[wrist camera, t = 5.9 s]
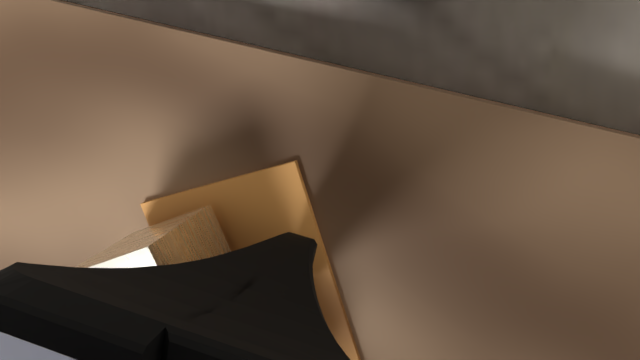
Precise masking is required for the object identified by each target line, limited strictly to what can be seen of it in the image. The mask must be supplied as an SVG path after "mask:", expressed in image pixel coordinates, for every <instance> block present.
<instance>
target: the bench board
mask: <svg viewBox="0 0 640 360" xmlns="http://www.w3.org/2000/svg"><path fill="white" fill-rule="evenodd" d="M207 205H211V207H212V210H213V212H214V214H215V216H216V218H217V221H218V223H219V225H220V227H221V229H222V232H223V234H224V236H225V238H226V240H227V243H228V245H229V247H230V249H231V251H234V250H238V249H241V248H244V247H247V246H250V245H253V244H256V243H258V242H261V241H264V240H267V239H269V238H272V237H275V236H278V235H280V234H283V233H287V232H292V233H295V234H298V235H302V236H305V237H309V238H312V239H315V241H316V243H317V249H316V253H315V258H314V262H313V278H314V285H315V290H316V294H317V298H318V302H319V305H320V308H321V311H322V314H323V316H324V318H325V321H326V323H327V325H328V327H329V329H330V331H331V333H332V335H333V336H334V338H335V340H336V341H337V343H338V344H339V346H340V347H341V348H342V350H343V351H344V352H345V354H346V355H347V356H348V357H349V359H350V360H640V135H637V134H632V133H628V132H624V131H620V130H615V129H611V128H607V127H603V126H598V125H594V124H590V123H585V122H581V121H577V120H573V119H568V118H564V117H560V116H555V115H551V114H547V113H543V112H538V111H534V110H530V109H525V108H521V107H517V106H513V105H508V104H504V103H500V102H496V101H491V100H487V99H483V98H478V97H474V96H470V95H466V94H461V93H457V92H453V91H448V90H444V89H440V88H436V87H431V86H427V85H423V84H418V83H414V82H410V81H406V80H401V79H397V78H393V77H389V76H384V75H380V74H376V73H371V72H367V71H363V70H359V69H354V68H350V67H346V66H341V65H337V64H333V63H329V62H324V61H320V60H316V59H311V58H307V57H303V56H299V55H294V54H290V53H286V52H282V51H277V50H273V49H269V48H264V47H260V46H256V45H252V44H247V43H243V42H239V41H234V40H230V39H226V38H222V37H217V36H213V35H209V34H204V33H200V32H196V31H192V30H187V29H183V28H179V27H175V26H170V25H166V24H162V23H157V22H153V21H149V20H145V19H140V18H136V17H132V16H127V15H123V14H119V13H115V12H110V11H106V10H102V9H97V8H93V7H89V6H85V5H80V4H76V3H72V2H68V1H63V0H0V270H2V269H4V268H6V267H8V266H10V265H12V264H14V263H16V262H22V263H31V264H43V265H55V266H66V267H76V266H77V265H79V264H81V263H82V262H84V261H86V260H88V259H89V258H91V257H93V256H94V255H96V254H98V253H99V252H101V251H103V250H104V249H106V248H108V247H109V246H111V245H113V244H114V243H116V242H118V241H119V240H121V239H123V238H125V237H126V236H128V235H130V234H131V233H133V232H136V231H138V230H141V229H144V228H147V227H149V226H152V225H155V224H158V223H160V222H163V221H166V220H169V219H171V218H174V217H177V216H180V215H182V214H185V213H188V212H191V211H193V210H196V209H199V208H202V207H204V206H207Z"/></svg>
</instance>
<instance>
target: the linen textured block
mask: <svg viewBox="0 0 640 360" xmlns="http://www.w3.org/2000/svg"><path fill="white" fill-rule="evenodd" d="M228 252H231V249H230V247H229V245H228V243H227V240H226V238H225V236H224V234H223V232H222V229H221V227H220V225H219V223H218V221H217V218H216V216H215V214H214V212H213V210H212V207H211V205H207V206H204V207H202V208H199V209H196V210H193V211H191V212H188V213H185V214H182V215H180V216H177V217H174V218H171V219H169V220H166V221H163V222H160V223H158V224H155V225H152V226H149V227H147V228H144V229H141V230H138V231H136V232H133V233H131V234H130V235H128V236H126V237H125V238H123V239H121V240H119V241H118V242H116V243H114V244H113V245H111V246H109V247H108V248H106V249H104V250H103V251H101V252H99V253H98V254H96V255H94V256H93V257H91V258H89V259H88V260H86V261H84V262H82V263H81V264H79V265H77V266H76V267H82V268H135V267H147V266H158V265H169V264H178V263H184V262H189V261H195V260H200V259H205V258H209V257H214V256H217V255H221V254H224V253H228Z"/></svg>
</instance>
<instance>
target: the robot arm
mask: <svg viewBox="0 0 640 360" xmlns="http://www.w3.org/2000/svg"><path fill="white" fill-rule="evenodd" d="M316 249H317V243H316V241H315V239H312V238H309V237H305V236H302V235H298V234H295V233H292V232H287V233H283V234H280V235H278V236H275V237H272V238H269V239H267V240H264V241H261V242H258V243H256V244H253V245H250V246H247V247H244V248H241V249H238V250H234V251H231V252H228V253H224V254H221V255H217V256H214V257H209V258H205V259H200V260H195V261H189V262H184V263H178V264H169V265H158V266H147V267H135V268H82V267H66V266H55V265H43V264H31V263H22V262H16V263H14V264H12V265H10V266H8V267H6V268H4V269H2V270H0V360H350V359H349V357H348V356H347V355H346V354H345V352H344V351H343V350H342V348H341V347H340V346H339V344H338V343H337V341H336V340H335V338H334V336H333V335H332V333H331V331H330V329H329V327H328V325H327V323H326V321H325V318H324V316H323V314H322V311H321V308H320V305H319V302H318V298H317V294H316V290H315V285H314V278H313V262H314V258H315V253H316Z"/></svg>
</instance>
